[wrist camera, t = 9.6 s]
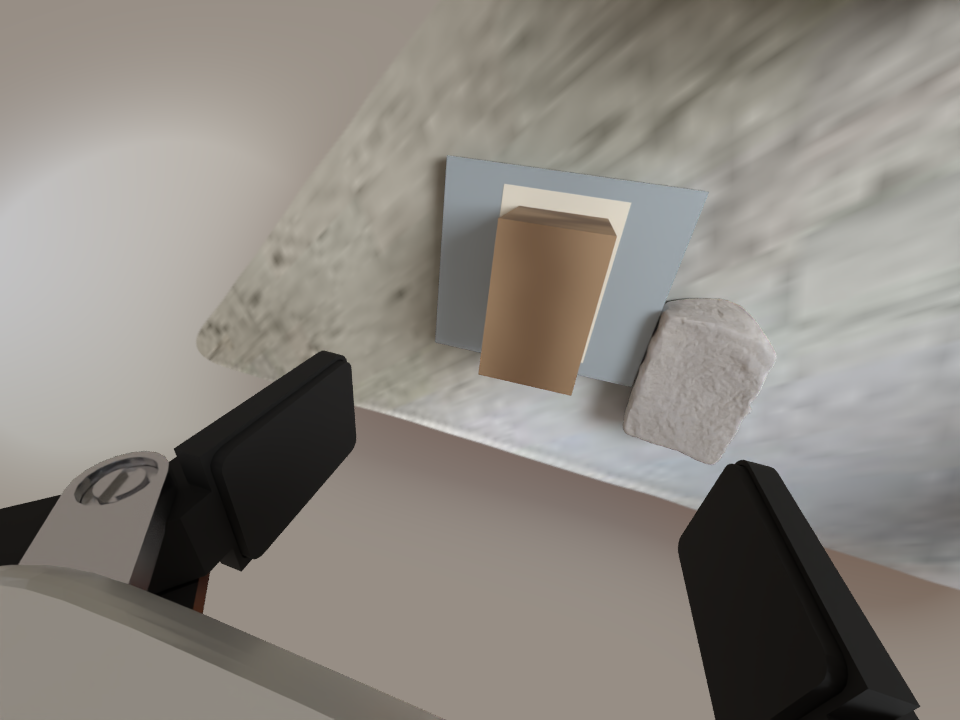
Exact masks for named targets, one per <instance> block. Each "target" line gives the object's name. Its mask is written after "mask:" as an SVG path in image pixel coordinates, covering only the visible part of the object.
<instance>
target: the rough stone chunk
mask: <svg viewBox="0 0 960 720" xmlns="http://www.w3.org/2000/svg"><path fill="white" fill-rule="evenodd" d="M776 356H777V354H776V352H775V350H774V348H773V346H772V345H771V343H770V341H769V340H768V338H767V337H766V335H765V334H764V332H763V330H762V329H761V328H760V326H759V325H758V323H757V322H756V320H755V319H754V318H753V317H752V316H751V315H750V314H749V313H748V312H747V311H746V310H745V309H744V308H743V307H742V306H740V305H738V304H735V303H733V302H730V301H728V300H724V299H698V298H694V299H683V300H675V301H670V302H667V303H666V304H665V305H664V306H663V309H662V311H661V314H660V316H659V320H658V325H657V327H656V329H655V330H654V331H653V334H652V336H651V339H650V342H649V345H648V349H647V353H646V355H645V357H644V358H643V360H642V362H641V365H640V368H639V371H638V375H637V378H636V382H635V385H634V386H633V388H632V391H631V394H630V397H629V403H628V405H627V407H626V411H625V414H624V422H623V429H624V432H625V433H626V434H628V435H631V436H633V437H637V438H640V439H642V440H645V441H648V442H650V443H653V444H656V445H660V446H664V447H667V448H670V449H673V450H677V451H679V452H681V453H683V454H685V455H687V456H690V457H691V458H693V459H695V460H697V461H701V462H703V463H706V464H709V465H713V464H715V463H716V462H718V461H719V460H720V459H721V458H722V454H723V453H725V448H726V447H727V445H728V444H730V442H731V440H732V439H733V438H734V436H735V434H736V433H737V431H738V429H739V426H740V424H741V422H742V420H743V419H744V418H745V417H746V416H747V415H748V414H749V413H750V412H751V410H752V409H751V407H750V404H751V403H752V401H753V400H754V399H755V398H756V397H757V396H758V395H759V392H760V391H761V387H762V385H763V384H764V382H765V379H766V377H767V374H768V373H769V371H770V369H771V368H772V367H773V366H774V364H775V361H776Z"/></svg>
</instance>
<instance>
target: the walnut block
mask: <svg viewBox="0 0 960 720" xmlns="http://www.w3.org/2000/svg"><path fill="white" fill-rule="evenodd" d="M616 238H617V235H616V233H615V231H614V229H613V227H612V225H611V223H610V221H609V219H607V218H600V217H593V216H586V215H580V214H573V213H566V212H559V211H552V210H546V209H539V208H532V207H525V206H518V207H516V208H514V209H513V210H511V211H509V212H508V213H506V214H504V215H503V216H501V217H499V218H498V224H497V232H496V240H495V247H494V255H493V263H492V271H491V279H490V287H489V295H488V303H487V311H486V319H485V326H484V334H483V342H482V350H481V358H480V366H479V375H483V376H488V377H492V378H496V379H501V380H505V381H510V382H514V383H518V384H523V385H527V386H531V387H536V388H540V389H544V390H549V391H553V392H557V393H562V394H566V395H571V394H572V391H573V387H574V384H575V380H576V377H577V374H578V370H579V367H580V363H581V360H582V356H583V353H584V349H585V346H586V342H587V339H588V335H589V332H590V328H591V325H592V322H593V318H594V315H595V311H596V308H597V304H598V301H599V297H600V294H601V290H602V287H603V283H604V280H605V277H606V273H607V270H608V266H609V263H610V259H611V256H612V252H613V249H614V245H615V242H616Z"/></svg>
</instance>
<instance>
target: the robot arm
mask: <svg viewBox="0 0 960 720" xmlns="http://www.w3.org/2000/svg"><path fill="white" fill-rule="evenodd" d="M355 443H356V428H355V413H354V399H353V385H352V370H351V365H350V363H348V362H347V360H346V358H345V357H344V356H343V355H339V354H335V353H331V352H327V351H321V352H318V353H317V354H315V355H314V356H312V357H311V358H309V359H308V360H306V361H305V362H303V363H302V364H300V365H299V366H297V367H296V368H294V369H293V370H291V371H290V372H288V373H287V374H285V375H284V376H282V377H281V378H279V379H278V380H276V381H275V382H273V383H272V384H270V385H269V386H267V387H266V388H264V389H263V390H261V391H260V392H258V393H257V394H255V395H254V396H252V397H251V398H249V399H248V400H246V401H245V402H243V403H242V404H240V405H239V406H237V407H236V408H235V409H233V410H231V411H230V412H228V413H227V414H225V415H224V416H222V417H221V418H219V419H218V420H216V421H215V422H213V423H212V424H210V425H209V426H207V427H206V428H204V429H203V430H201V431H200V432H198V433H197V434H195V435H194V436H192V437H191V438H189V439H188V440H186V441H185V442H183V443H182V444H180V445H179V446H177V447H176V448H174V450H175V453H176V455H177V457H176V458H174V459H173V460H171V461H170V462H168V460H167V459H166V457H165V456H163V455H161V454H159V453H156V452H149V451H141V452H131V453H127V454H123V455H119V456H115V457H113V458H110V459H107V460H105V461H102V462H100V463H98V464H96V465H94V466H93V467H91V468H89V469H87V470H85V471H84V472H83V473H81V474H80V475H79V476H77V477H76V478H75V479H73V480H72V482H71V483H70V484H69V485H68V486H67V487H66V489H65V490H64V491H63V493H62V495H58V496H54V497H49V498H45V499H41V500H37V501H32V502H28V503H24V504H20V505H15V506H11V507H7V508H3V509H0V720H445V719H443V718H441V717H438V716H436V715H434V714H431V713H429V712H427V711H425V710H422V709H420V708H418V707H416V706H413V705H411V704H409V703H406V702H404V701H402V700H400V699H397V698H395V697H393V696H390V695H388V694H386V693H384V692H381V691H379V690H376V689H374V688H372V687H370V686H368V685H365V684H363V683H361V682H358V681H356V680H354V679H352V678H349V677H347V676H345V675H343V674H340V673H338V672H336V671H333V670H331V669H329V668H327V667H324V666H322V665H319V664H317V663H315V662H313V661H310V660H308V659H306V658H303V657H301V656H299V655H296V654H294V653H292V652H290V651H287V650H285V649H283V648H280V647H278V646H276V645H273V644H271V643H269V642H266V641H264V640H262V639H259V638H257V637H255V636H253V635H250V634H248V633H246V632H243V631H241V630H239V629H236V628H234V627H232V626H229V625H227V624H225V623H222V622H220V621H218V620H216V619H213V618H211V617H209V616H206V615H204V614H203V610H204V604H205V598H206V593H207V587H208V581H209V576H210V571H211V570H212V569H213V568H214V567H215V566H216V565H217V563H219V562H221V563H222V564H224V565H227V566H229V567H232V568H234V569H237V570H239V571H242V570H243V569H244V568H245V567H246V566H247V564H248V563H249V562H250V561H251V560H252V559H257V558H259V557H260V556H262V555H263V554H264V552H265V551H266V550H267V549H268V548H269V547H270V546H271V544H272V543H273V542H274V541H275V540H276V539H277V537H278V536H279V535H280V534H281V533H282V532H283V530H284V529H285V528H286V527H287V526H288V525H289V523H290V522H291V521H292V520H293V519H294V517H295V516H296V515H297V514H298V513H299V512H300V511H301V509H302V508H303V507H304V506H305V505H306V504H307V503H308V501H309V500H310V499H311V498H312V497H313V496H314V494H315V493H316V492H317V491H318V489H319V488H320V487H321V486H322V485H323V484H324V483H325V481H326V480H327V479H328V478H329V477H330V476H331V475H332V473H333V472H334V471H335V470H336V469H337V468H338V466H339V465H340V464H341V463H342V462H343V461H344V459H345V458H346V457H347V456H348V455H349V453H350V452H351V451H352V450H353V448H354V446H355ZM678 553H679V558H680V563H681V567H682V571H683V576H684V580H685V584H686V590H687V594H688V599H689V603H690V607H691V612H692V616H693V621H694V625H695V630H696V634H697V639H698V643H699V647H700V652H701V657H702V661H703V666H704V670H705V675H706V679H707V684H708V688H709V693H710V697H711V701H712V706H713V711H714V715H715V720H919V719H918V717H917V716H916V714H915V712H914V711H913V710H915V709H917V708H919V707H920V705H919V704H918V702H917V700H916V699H915V697H914V696H913V694H912V692H911V690H910V689H909V687H908V686H907V684H906V682H905V681H904V679H903V677H902V676H901V674H900V672H899V671H898V669H897V668H896V666H895V664H894V663H893V661H892V659H891V658H890V656H889V654H888V653H887V651H886V650H885V648H884V646H883V645H882V643H881V641H880V640H879V638H878V637H877V635H876V633H875V631H874V630H873V628H872V627H871V625H870V623H869V622H868V620H867V618H866V617H865V615H864V614H863V612H862V610H861V609H860V607H859V605H858V604H857V602H856V600H855V599H854V597H853V596H852V594H851V592H850V591H849V589H848V587H847V586H846V584H845V582H844V581H843V579H842V577H841V576H840V574H839V573H838V571H837V569H836V568H835V566H834V564H833V563H832V561H831V559H830V558H829V556H828V554H827V553H826V551H825V550H824V548H823V546H822V545H821V543H820V541H819V540H818V538H817V536H816V535H815V533H814V531H813V530H812V528H811V527H810V525H809V523H808V522H807V520H806V518H805V517H804V515H803V513H802V512H801V510H800V509H799V507H798V505H797V504H796V502H795V500H794V499H793V497H792V495H791V494H790V492H789V490H788V489H787V487H786V486H785V484H784V482H783V481H782V479H781V477H780V476H779V474H778V473H777V471H776V470H775V469H774V468H772V467H769V466H765V465H761V464H757V463H753V462H749V461H746V460H740V461H738V462H736V464H728V465H727V466H726V467H725V469H724V470H723V472H722V473H721V475H720V476H719V478H718V479H717V481H716V483H715V484H714V486H713V487H712V489H711V490H710V492H709V493H708V495H707V497H706V498H705V500H704V501H703V503H702V504H701V506H700V507H699V509H698V511H697V512H696V514H695V515H694V517H693V518H692V520H691V522H690V523H689V525H688V526H687V528H686V529H685V531H684V533H683V534H682V535H681V537H680V540H679V545H678Z"/></svg>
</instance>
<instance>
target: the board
mask: <svg viewBox="0 0 960 720" xmlns="http://www.w3.org/2000/svg"><path fill="white" fill-rule="evenodd" d="M708 193H709V192H706V191H700V190H693V189H686V188H679V187H672V186H665V185H657V184H650V183H643V182H636V181H629V180H622V179H614V178H607V177H600V176H593V175H586V174H579V173H572V172H564V171H557V170H550V169H543V168H536V167H529V166H521V165H514V164H507V163H500V162H493V161H486V160H479V159H471V158H464V157H457V156H448V155H447V164H446V180H445V195H444V211H443V227H442V243H441V259H440V274H439V290H438V306H437V322H436V337H435V342H436V343H440V344H445V345H449V346H453V347H458V348H462V349H467V350H471V351H475V352H480V353H481V350H482V342H483V334H484V326H485V319H486V311H487V303H488V295H489V287H490V279H491V271H492V263H493V255H494V247H495V240H496V232H497V224H498V218H499V217H501V216H503V215H504V214H506V213H508V212H509V211H511V210H513V209H514V208H516V207H518V206H525V207H532V208H539V209H546V210H552V211H559V212H566V213H573V214H580V215H586V216H593V217H600V218H607V219H609V221H610V223H611V225H612V227H613V229H614V231H615V233H616V235H617V238H616V242H615V245H614V249H613V252H612V256H611V259H610V263H609V266H608V270H607V273H606V277H605V280H604V283H603V287H602V290H601V294H600V297H599V301H598V304H597V308H596V311H595V315H594V318H593V322H592V325H591V328H590V332H589V335H588V339H587V342H586V346H585V349H584V353H583V356H582V360H581V363H580V367H579V370H578V374H577V375H580V376H585V377H589V378H594V379H598V380H602V381H607V382H611V383H616V384H620V385H624V386H629V387H632V384H633V382H634V379H635V377H636V374H637V372H638V369H639V367H640V364H641V362H642V359H643V357H644V354H645V352H646V349H647V346H648V344H649V341H650V339H651V336H652V334H653V331H654V329H655V326H656V324H657V321H658V319H659V316H660V314H661V311H662V309H663V306H664V304H665V301H666V299H667V296H668V294H669V291H670V289H671V286H672V284H673V281H674V279H675V276H676V274H677V271H678V269H679V266H680V264H681V261H682V259H683V256H684V254H685V251H686V249H687V246H688V244H689V241H690V239H691V236H692V233H693V231H694V228H695V226H696V223H697V221H698V218H699V216H700V213H701V211H702V208H703V206H704V203H705V201H706V198H707V196H708Z"/></svg>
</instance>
